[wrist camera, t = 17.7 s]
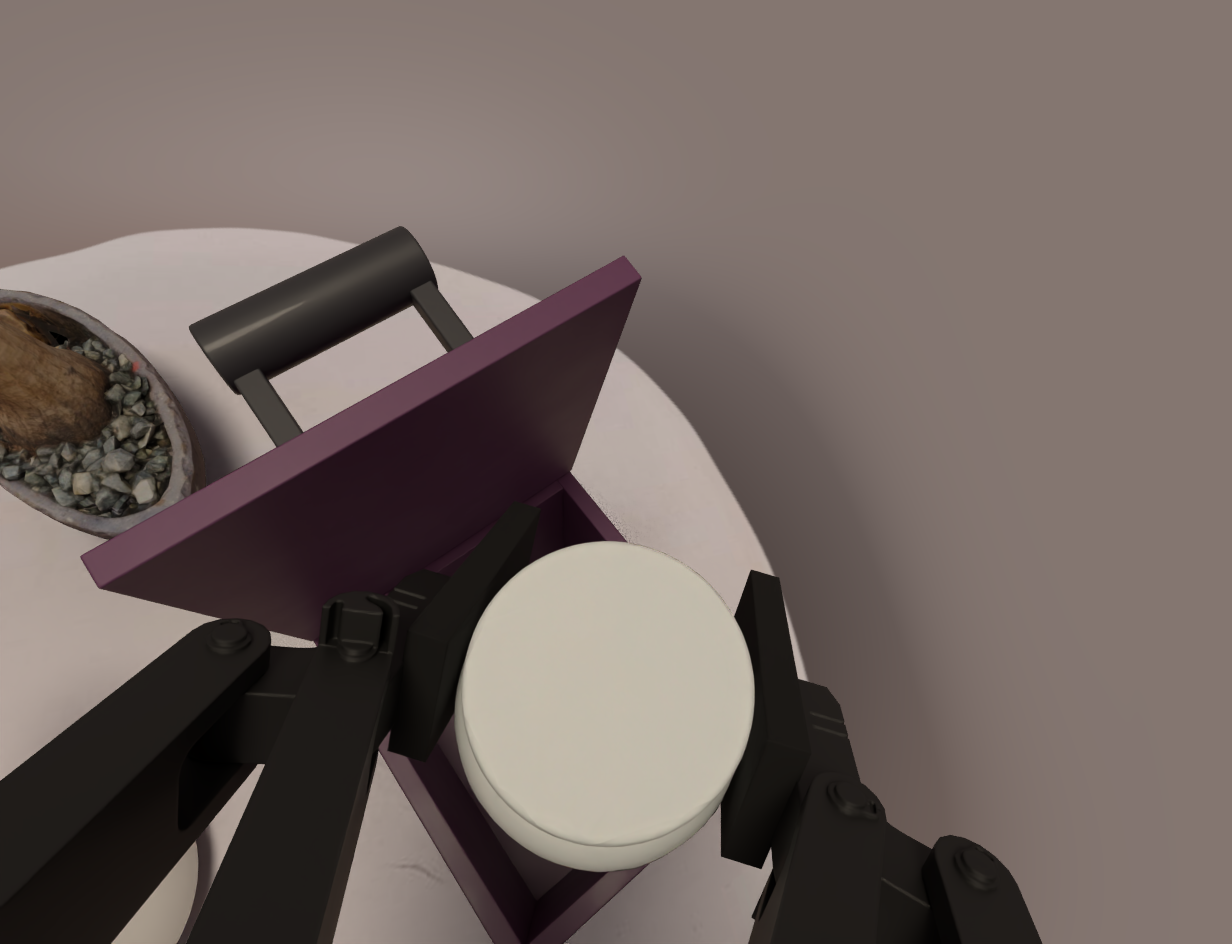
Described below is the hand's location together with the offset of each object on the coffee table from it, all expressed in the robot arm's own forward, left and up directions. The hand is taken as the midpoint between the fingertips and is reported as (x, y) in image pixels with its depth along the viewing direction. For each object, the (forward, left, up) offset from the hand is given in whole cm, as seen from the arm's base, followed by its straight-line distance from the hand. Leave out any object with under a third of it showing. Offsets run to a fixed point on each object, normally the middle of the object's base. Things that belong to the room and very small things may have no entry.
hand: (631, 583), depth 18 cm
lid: (0, +7, -4) cm, 8 cm away
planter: (-3, +34, -25) cm, 42 cm away
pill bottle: (-4, -1, -4) cm, 5 cm away
